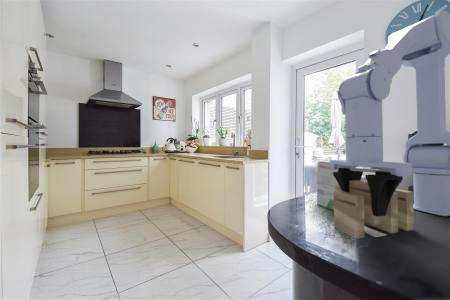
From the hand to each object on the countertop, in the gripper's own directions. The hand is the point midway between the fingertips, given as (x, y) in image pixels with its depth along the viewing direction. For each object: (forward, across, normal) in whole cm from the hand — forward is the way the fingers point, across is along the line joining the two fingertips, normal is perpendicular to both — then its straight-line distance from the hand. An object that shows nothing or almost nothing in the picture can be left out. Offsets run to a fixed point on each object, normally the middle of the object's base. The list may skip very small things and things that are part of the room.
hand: (364, 211), depth 38 cm
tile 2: (+3, 0, +4) cm, 5 cm away
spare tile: (+2, 0, 0) cm, 2 cm away
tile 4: (+3, 0, -4) cm, 5 cm away
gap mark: (+3, 0, 0) cm, 3 cm away
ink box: (+4, -14, +6) cm, 16 cm away
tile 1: (+3, 0, +8) cm, 8 cm away
